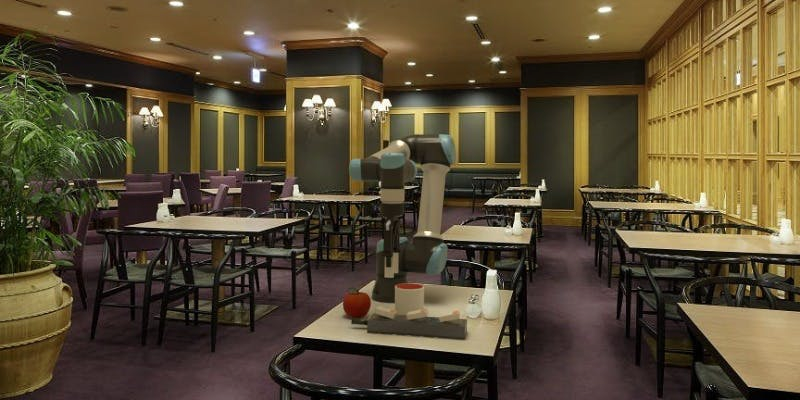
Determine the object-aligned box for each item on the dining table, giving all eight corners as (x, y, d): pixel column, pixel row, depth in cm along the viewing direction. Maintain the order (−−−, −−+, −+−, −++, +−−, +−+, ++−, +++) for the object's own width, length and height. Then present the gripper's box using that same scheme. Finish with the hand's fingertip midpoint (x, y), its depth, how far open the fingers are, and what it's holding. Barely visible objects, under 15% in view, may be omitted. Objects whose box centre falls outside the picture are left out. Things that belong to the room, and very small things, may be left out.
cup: (421, 319, 195) (421, 290, 194) (392, 318, 197) (392, 288, 196) (425, 312, 205) (426, 284, 204) (398, 310, 207) (398, 282, 206)
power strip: (355, 324, 189) (355, 311, 189) (467, 331, 182) (467, 318, 182) (348, 331, 181) (348, 318, 181) (464, 339, 174) (465, 325, 174)
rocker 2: (409, 316, 183) (408, 311, 183) (428, 313, 182) (427, 308, 182) (407, 319, 180) (406, 314, 180) (426, 316, 178) (425, 310, 178)
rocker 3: (441, 318, 181) (440, 313, 181) (460, 315, 180) (459, 310, 180) (440, 322, 178) (438, 316, 178) (459, 318, 176) (458, 313, 176)
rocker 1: (377, 310, 185) (379, 305, 185) (395, 315, 184) (396, 310, 184) (374, 313, 182) (376, 307, 181) (393, 318, 181) (394, 313, 180)
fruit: (369, 320, 193) (369, 290, 193) (340, 320, 194) (340, 290, 193) (372, 313, 203) (372, 284, 202) (344, 312, 203) (345, 284, 203)
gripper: (387, 199, 193) (386, 268, 195) (373, 204, 174) (372, 280, 176) (409, 200, 192) (408, 269, 193) (397, 205, 173) (396, 282, 174)
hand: (391, 274), depth 185 cm, fingers open, 6 cm apart
